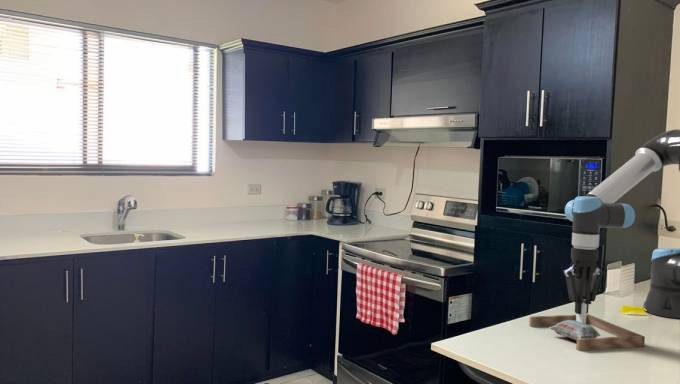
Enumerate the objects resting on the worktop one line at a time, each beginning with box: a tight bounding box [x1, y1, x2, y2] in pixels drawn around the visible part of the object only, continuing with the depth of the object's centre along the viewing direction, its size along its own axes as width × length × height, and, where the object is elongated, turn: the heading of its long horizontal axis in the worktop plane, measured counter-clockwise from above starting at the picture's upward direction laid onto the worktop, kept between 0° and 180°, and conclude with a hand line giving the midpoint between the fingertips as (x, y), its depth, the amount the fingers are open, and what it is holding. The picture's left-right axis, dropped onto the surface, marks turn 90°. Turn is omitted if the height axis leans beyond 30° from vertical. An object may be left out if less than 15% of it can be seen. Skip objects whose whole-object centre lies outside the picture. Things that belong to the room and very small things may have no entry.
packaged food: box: [547, 320, 601, 341], centre depth 164 cm, size 9×12×5 cm
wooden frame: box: [528, 313, 646, 351], centre depth 168 cm, size 22×24×3 cm
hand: (580, 324), depth 168 cm, fingers closed
